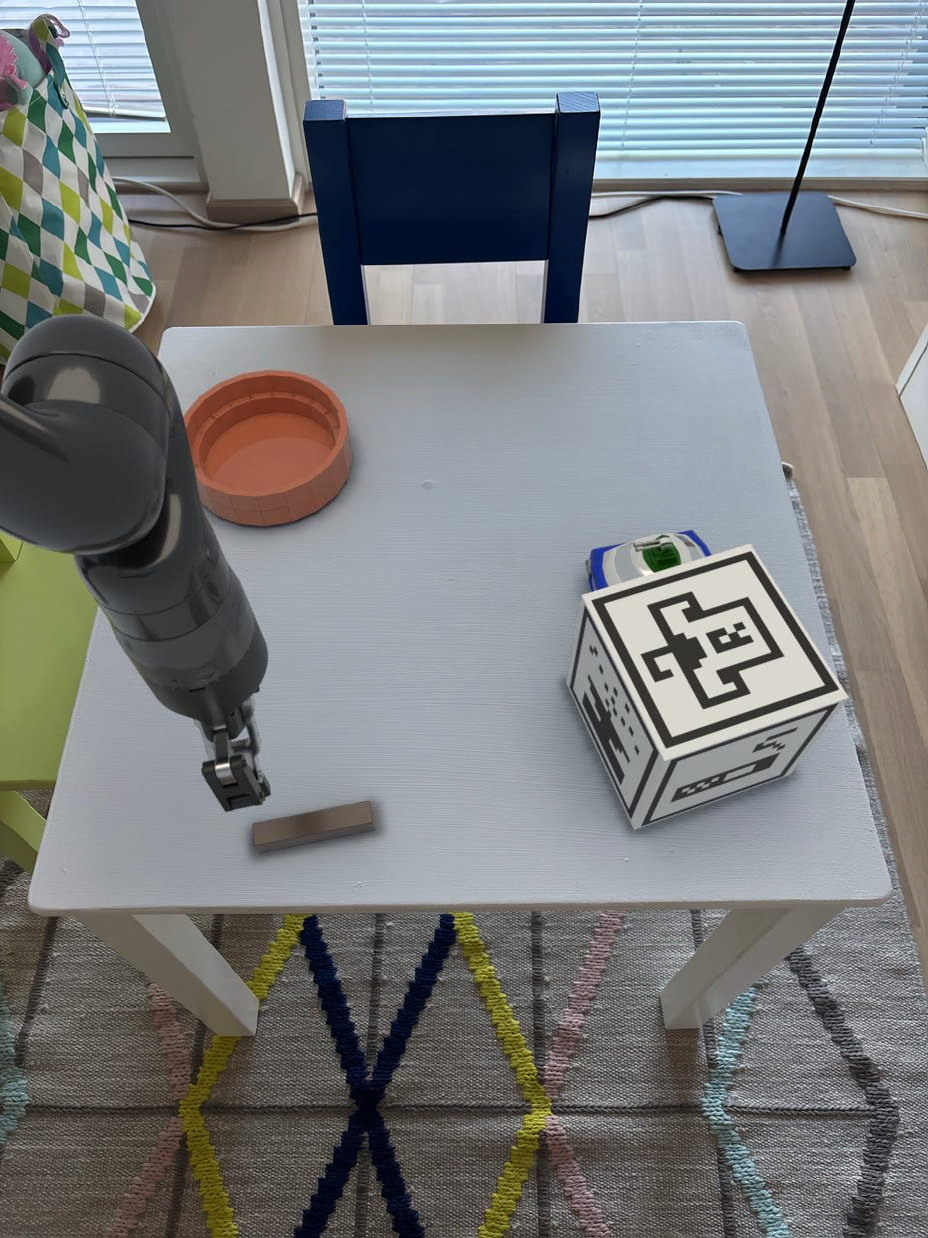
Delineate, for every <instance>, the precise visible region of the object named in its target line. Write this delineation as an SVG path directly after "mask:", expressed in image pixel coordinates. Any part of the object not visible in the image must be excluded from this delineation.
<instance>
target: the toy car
mask: <svg viewBox="0 0 928 1238" xmlns="http://www.w3.org/2000/svg"><path fill="white" fill-rule="evenodd" d="M711 555H713V554H712V553H711V550H710V549H709V547H708V546H707V544H706V543H705V542H704V541H703V540H702V539H701V538H700V537H699V536H698V534H697V533H696V532H695V531H694V530H693V529H689V530H684V531H679V532H662V533H654V534H653V533H652V534H649V535H645V536H642V537H639V538H635V539H632V540H630V541H627V542H622V543H617V544H611V545H606V546H601V547H597V548H593V549H591V550H590V555H589V559H585V564H584V565H585V570H586V574H587V575H588V585H589V589H590V592H594V591H597V590H600V589H603V588H607V587H610V586H613V585H616V584H620V583H623V582H626V581H629V580H633V579H636V578H639V577H643V576H646V575H649V574H652V573H656V572H659V571H662V570H665V569H669V568H672V567H675V566H679V565H682V564H685V563H688V562H692V561H695V560H698V559H701V558H705V557H708V556H711Z"/></svg>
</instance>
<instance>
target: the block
mask: <svg viewBox="0 0 928 1238" xmlns="http://www.w3.org/2000/svg"><path fill="white" fill-rule="evenodd" d="M568 664H569V665H568V671H567V675H566V676H567V677H566V682H565V683H566V686H567V688H568V690H569V693H570V695H571V697H572V699H573V701H574V703H575V705H576V708H577V710H578V712H579V714H580V716H581V718H582V721H583V723H584V725H585V727H586V729H587V732H588V733H589V736H590V738H591V740H592V742H593V744H594V746H595V749H596V751H597V753H598V755H599V757H600V760H601V762H602V765H603V766H604V768H605V771H606V774H607V775H608V777H609V779H610V781H611V783H612V786H613V788H614V790H615V791H616V794H617V796H618V799H619V801H620V803H621V805H622V807H623V809H624V812H625V814H626V816H627V818H628V820H629V822H630V825H631V827H632V829H633V831H636V830H639V829H641V828H645V827H647V826H650V825H653V824H656V823H658V822H662V821H664V820H667V819H669V818H672V817H675V816H678V815H681V814H683V813H687V812H690V811H692V810H695V809H698V808H702V807H704V806H707V805H709V804H712V803H715V802H718V801H721V800H723V799H726V798H729V797H732V796H734V795H735V796H736V795H737V794H740V793H742V792H743V793H744V792H745V791H748V790H752V789H754V788H757V787H760V786H763V785H766V784H769V783H771V782H775V781H777V780H779V779H783V778H785V777H788V776H791V774H793V772H794V771H795V769H796V768H797V766H798V765H799V764H800V763H801V761H802V760H803V759H804V757H805V756H806V755H807V753H808V752H809V751H810V749H812V747H813V746H814V744H815V743H816V742H817V740H818V739H819V738H820V736H821V735H822V734H823V732H825V730H826V729H827V727H828V726H829V725H830V723H831V722H832V721H833V719H835V717H836V715H837V714H838V713H839V712H840V711H841V709H842V707H843V706H844V705H845V704H846V703H847V701H848V700H849V699H850V697H849V695H848V694H847V692H846V691H845V688H844V687H843V686H842V684H841V683H840V681H839V680H838V679H837V678H838V677H836V675H835V673H834V672H833V670H832V669H831V667H830V665H829V664H828V662H827V661H826V659H825V658H824V656H823V655H822V653H821V652H820V650H819V649H818V647H817V646H816V644H815V642H814V640H813V639H812V638H811V636H810V634H809V633H808V631H807V630H806V628H805V627H804V625H803V623H802V622H801V620H800V618H799V617H798V616H797V614H796V612H795V611H794V610H793V608H792V606H791V604H790V603H789V602H788V600H787V599H786V597H785V595H784V594H783V592H782V591H781V589H780V587H779V586H778V584H777V583H776V581H775V580H774V578H773V577H772V575H771V574H770V572H769V570H768V568H767V567H766V565H765V564H764V562H763V561H762V559H761V558H760V557H759V555H758V553H757V552H756V550H755V549H754V547H753V545H752V544H751V543H747V544H744V545H741V546H738V547H734V548H731V549H728V550H725V551H721V552H718V553H715V554H712V555H711V556H708V557H705V558H701V559H698V560H695V561H692V562H688V563H685V564H682V565H679V566H675V567H672V568H669V569H665V570H662V571H659V572H656V573H652V574H649V575H646V576H643V577H639V578H636V579H633V580H629V581H626V582H623V583H620V584H616V585H613V586H610V587H607V588H603V589H600V590H597V591H594V592H591V591H589V592H588V593H584V594H581V597H580V603H579V608H578V615H577V618H576V626H575V631H574V637H573V643H572V648H571V654H570V660H569V663H568Z"/></svg>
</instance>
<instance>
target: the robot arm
mask: <svg viewBox="0 0 928 1238" xmlns="http://www.w3.org/2000/svg"><path fill="white" fill-rule="evenodd" d="M4 368H5V369H4V374H3V377H2V383H1V387H0V532H1V533H3V534H5V535H7V536H9V537H11V538H13V539H15V540H17V541H20V542H23V543H25V544H27V545H30V546H33V547H36V548H39V549H43V550H46V551H49V552H54V553H59V554H65V555H72V559H73V563H74V566H75V569H76V571H77V573H78V575H79V577H80V579H81V581H82V583H83V584H84V586H85V588H86V589H87V591H88V592H89V593H90V595H91V596H92V598H93V599H94V601H95V602H96V604H97V605H98V606H99V608H100V609H101V611H102V613H104V615H105V617H106V618H107V620H108V621H109V624H110V628H111V630H112V632H113V634H114V636H115V639H116V640H117V643H118V644H119V646H120V647H121V649H122V651H123V652H124V654H126V656H127V658H128V659H129V661H130V662H131V663H132V665H133V666H134V668H135V670H137V673H138V674H139V676H140V677H141V678H142V680H143V681H144V683H145V684H146V685H147V687H148V688H149V689H150V691H151V693H152V694H153V696H155V698H156V699H157V701H158V702H159V703H160V704H161V705H162V706H164V707H165V708H166V709H167V710H169V711H170V712H173V713H175V714H178V715H180V716H183V717H186V718H190V719H192V721H193V724H194V726H196V728H198V729H199V731H200V734H201V738H202V742H203V746H204V749H205V751H206V755H207V759H208V760H205V761H202V763H201V775H202V776H203V778H204V781H205V782H206V784H207V785H208V787H209V788H210V790H211V791H212V793H213V796H214V797H215V798H216V800H217V801H218V803H219V804H220V806H221V808H222V809H223V811H224V813H229V812H234V811H235V810H240V809H245V808H249V807H254V806H255V807H257V806H262V805H264V802H265V801H266V800H267V799H266V798H268V797H271V795H272V793H271V792H272V790H271V784H270V782H269V781H268V778H267V777H266V774H265V773H264V772H263V769H262V768H261V764H260V761H259V757H258V755H259V754H260V752H261V745H262V739H261V735H260V730H259V727H258V722H257V719H256V716H255V710H256V700H255V697H254V696H255V695H254V694H257V693H259V692H260V690H261V689H260V685H261V684H262V682H263V680H264V677H265V676H266V673H267V669H268V663H269V651H268V645H267V641H266V639H265V637H264V634H263V632H262V630H261V628H260V627H261V626H260V625H259V623H258V620H257V617H256V616H255V615H256V614H255V613H254V611H253V608H252V606H251V604H250V602H249V599H248V597H247V594H246V591H245V590H244V587H243V584H242V582H241V581H240V579H239V577H238V576H237V574H236V573H235V571H234V570H233V568H232V567H231V566H230V564H229V562H228V561H227V559H226V557H225V554H224V552H223V550H222V547H221V545H220V542H219V540H218V537H217V535H216V533H215V531H214V529H213V526H212V525H211V522H210V521H209V519H208V517H207V515H206V513H205V510H204V509H205V508H204V505H203V504H202V502H201V498H200V493H199V489H198V483H197V478H196V472H195V467H194V462H193V457H192V452H191V448H190V443H189V439H188V434H187V430H186V426H185V422H184V418H183V417H184V414H183V410H182V407H181V403H180V400H179V397H178V395H177V391H176V388H175V386H174V384H173V381H172V379H171V377H170V376H169V373H168V371H167V370H166V368H165V367H164V365H163V364H162V361H161V360H159V359H158V357H157V356H156V355H155V353H154V351H152V350H151V348H150V347H149V346H148V345H147V344H146V343H144V342H143V341H142V340H141V339H140V338H139V337H137V336H136V335H135V334H134V333H132V332H130V330H128V329H126V328H125V327H123V326H121V325H120V324H117V323H115V322H114V321H111V320H109V319H106V318H102V317H99V316H97V315H96V316H95V315H90V314H83V313H82V314H81V313H68V314H61V315H60V314H59V315H55V316H53V317H49V318H46V319H44V320H42V321H40V322H39V323H38V322H37V324H35V325H34V326H32V327H31V328H30V329H28V331H27V332H26V333H24V335H22V336H21V338H19V340H18V341H17V342H16V344H15V345H14V347H13V349H12V351H11V353H10V355H9V357H8V359H7V363H6V366H5V367H4ZM245 729H246V731H247V735H248V736H247V738H243V739H239V740H236V739H237V738H238V737H239V736H240V735H241V734H242V733H243V731H244V730H245Z"/></svg>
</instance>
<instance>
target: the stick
mask: <svg viewBox="0 0 928 1238" xmlns="http://www.w3.org/2000/svg"><path fill="white" fill-rule="evenodd" d="M373 811H374V809H373V806H372V802H371V801H370V800H364V801H360V802H356V803H350V804H344V805H339V806H335V807H330V808H324V809H319V810H315V811H309V812H304V813H298V814H293V815H289V816H282V817H279V818H273V819H268V820H262V821H258V822H253V823H252V824H251V828H252V838H253V847H254V848H255V850H256V851H257V853H258V854H261V853H267V852H271V851H276V850H277V851H278V850H282V849H287V848H292V847H297V846H301V845H307V844H312V843H318V842H322V841H328V840H332V839H337V838H342V837H343V838H344V837H347V836H352V835H357V834H363V833H367V832H368V833H369V832H373V831H376V824H375V818H374V817H375V816H374V812H373Z"/></svg>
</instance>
